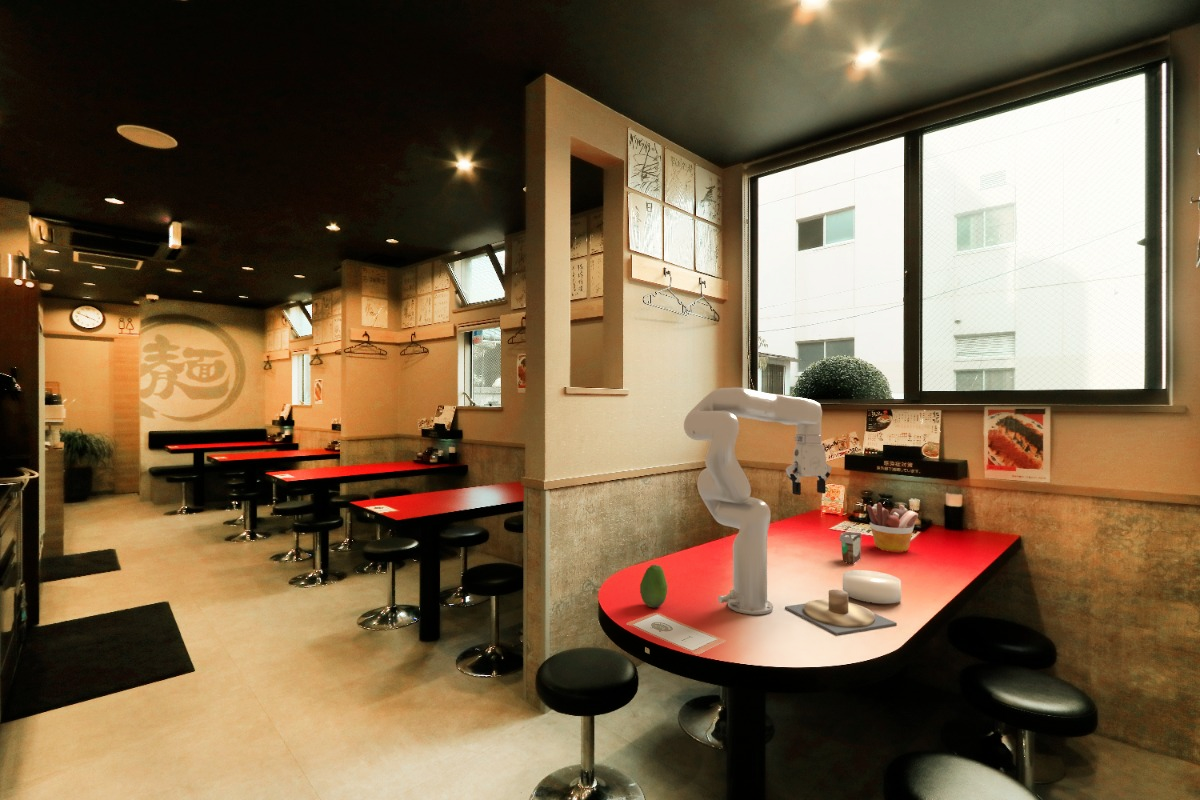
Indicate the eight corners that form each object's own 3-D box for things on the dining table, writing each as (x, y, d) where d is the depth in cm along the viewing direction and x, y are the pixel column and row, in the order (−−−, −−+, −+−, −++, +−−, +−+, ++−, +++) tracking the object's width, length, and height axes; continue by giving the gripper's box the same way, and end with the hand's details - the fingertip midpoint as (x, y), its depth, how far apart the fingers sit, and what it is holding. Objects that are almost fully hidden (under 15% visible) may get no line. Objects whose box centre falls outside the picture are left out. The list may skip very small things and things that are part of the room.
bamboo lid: (836, 631, 139) (836, 607, 139) (789, 607, 156) (789, 586, 156) (890, 622, 145) (890, 599, 146) (839, 600, 162) (839, 579, 162)
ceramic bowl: (872, 609, 156) (871, 588, 156) (831, 592, 171) (830, 572, 171) (914, 603, 162) (913, 582, 162) (870, 586, 177) (870, 568, 177)
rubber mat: (836, 635, 138) (836, 632, 138) (784, 608, 157) (784, 606, 157) (896, 625, 145) (896, 622, 145) (840, 600, 164) (840, 598, 164)
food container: (844, 556, 214) (844, 530, 215) (861, 558, 211) (861, 532, 211) (835, 562, 205) (834, 536, 205) (852, 565, 201) (852, 538, 201)
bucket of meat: (886, 542, 237) (886, 496, 238) (925, 550, 223) (924, 501, 224) (857, 548, 227) (857, 500, 228) (896, 557, 213) (895, 506, 214)
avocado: (672, 606, 158) (672, 564, 159) (655, 613, 153) (655, 570, 153) (651, 599, 164) (651, 559, 164) (634, 606, 158) (634, 564, 159)
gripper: (794, 441, 169) (794, 496, 169) (838, 440, 175) (839, 494, 175) (778, 440, 176) (779, 493, 176) (822, 439, 182) (822, 490, 182)
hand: (809, 493), depth 175 cm, fingers open, 9 cm apart
